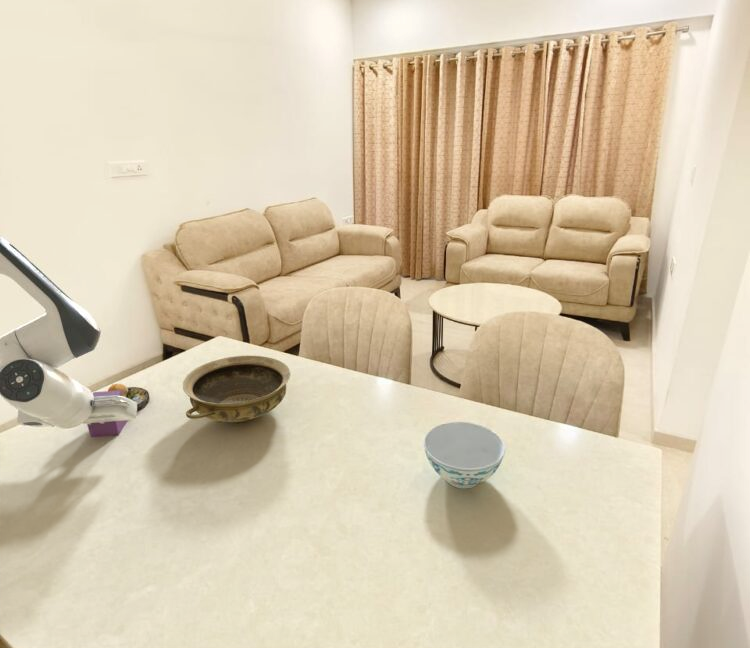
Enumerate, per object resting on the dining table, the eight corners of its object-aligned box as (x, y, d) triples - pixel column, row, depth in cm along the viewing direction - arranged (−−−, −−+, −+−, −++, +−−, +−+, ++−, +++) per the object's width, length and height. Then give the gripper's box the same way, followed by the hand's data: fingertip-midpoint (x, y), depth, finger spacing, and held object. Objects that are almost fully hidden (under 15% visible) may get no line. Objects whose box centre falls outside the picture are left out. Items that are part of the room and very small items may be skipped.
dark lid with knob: (159, 397, 127) (154, 370, 124) (123, 421, 117) (117, 393, 114) (123, 389, 131) (117, 364, 128) (85, 412, 121) (77, 385, 118)
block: (118, 434, 112) (111, 403, 109) (90, 436, 111) (82, 405, 108) (128, 420, 117) (121, 390, 114) (101, 422, 116) (93, 392, 114)
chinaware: (411, 490, 93) (412, 456, 90) (437, 446, 106) (438, 415, 103) (491, 514, 87) (495, 477, 84) (508, 464, 100) (512, 431, 97)
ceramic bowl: (233, 463, 101) (227, 421, 98) (155, 431, 113) (147, 392, 109) (320, 398, 126) (318, 362, 122) (249, 376, 137) (245, 343, 133)
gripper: (124, 384, 99) (148, 402, 111) (14, 392, 97) (51, 409, 109) (121, 416, 96) (146, 431, 109) (7, 424, 94) (46, 438, 107)
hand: (97, 420), depth 109 cm, fingers closed, pressing on block
